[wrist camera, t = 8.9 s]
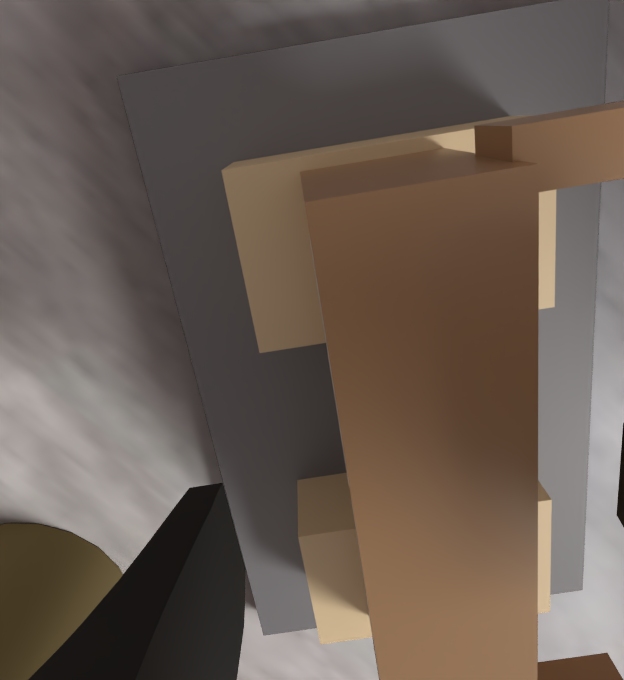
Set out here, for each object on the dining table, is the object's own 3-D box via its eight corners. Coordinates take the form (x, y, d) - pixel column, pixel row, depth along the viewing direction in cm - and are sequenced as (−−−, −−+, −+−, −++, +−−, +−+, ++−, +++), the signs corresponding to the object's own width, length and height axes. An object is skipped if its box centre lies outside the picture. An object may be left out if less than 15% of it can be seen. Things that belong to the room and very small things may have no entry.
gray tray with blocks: (588, -1, 11) (684, -40, 9) (570, 569, 17) (622, 655, 15) (127, 79, 12) (76, 65, 9) (264, 614, 18) (259, 705, 15)
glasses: (573, 102, 9) (757, 88, 6) (561, 600, 14) (660, 775, 10) (295, 148, 10) (298, 164, 6) (370, 627, 14) (399, 809, 10)
